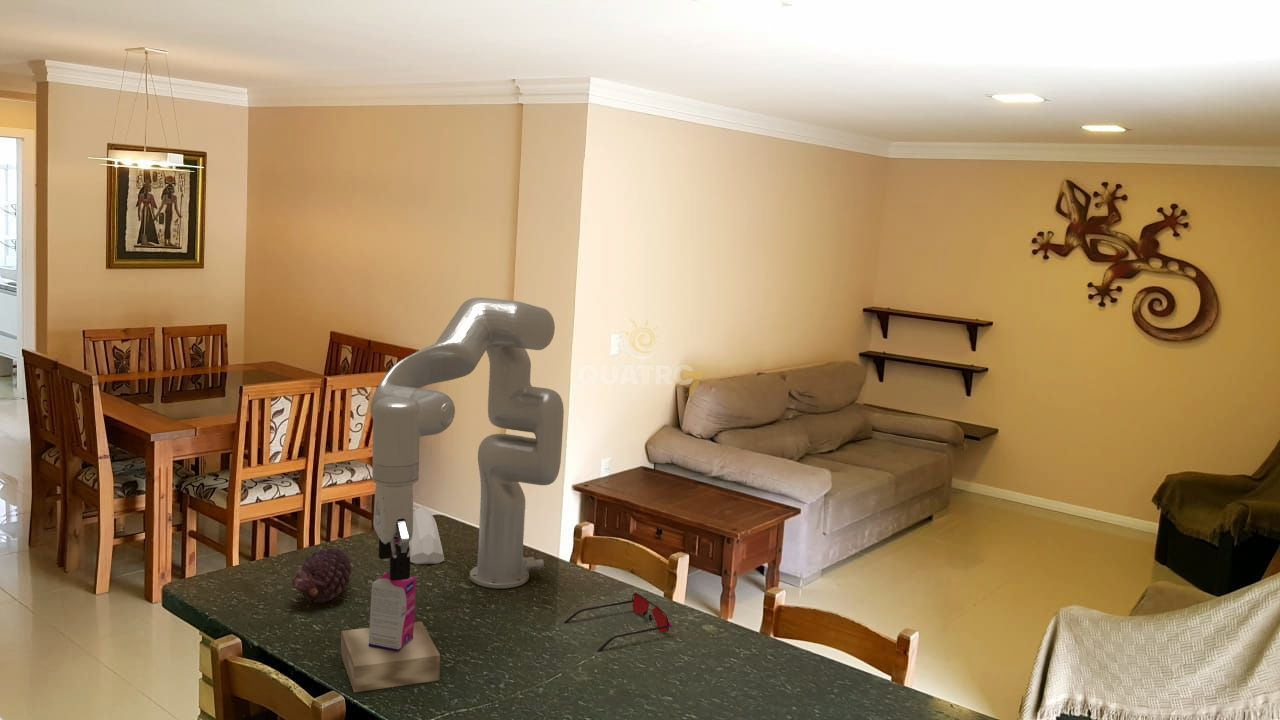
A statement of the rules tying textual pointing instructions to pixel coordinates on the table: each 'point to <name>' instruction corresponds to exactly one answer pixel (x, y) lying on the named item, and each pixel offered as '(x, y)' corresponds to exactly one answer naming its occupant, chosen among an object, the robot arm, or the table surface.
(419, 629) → the birch plinth
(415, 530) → the white chamfered bar
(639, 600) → the glasses
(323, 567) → the purple hedgehog toy
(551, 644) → the table surface
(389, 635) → the supplement box
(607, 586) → the table surface
